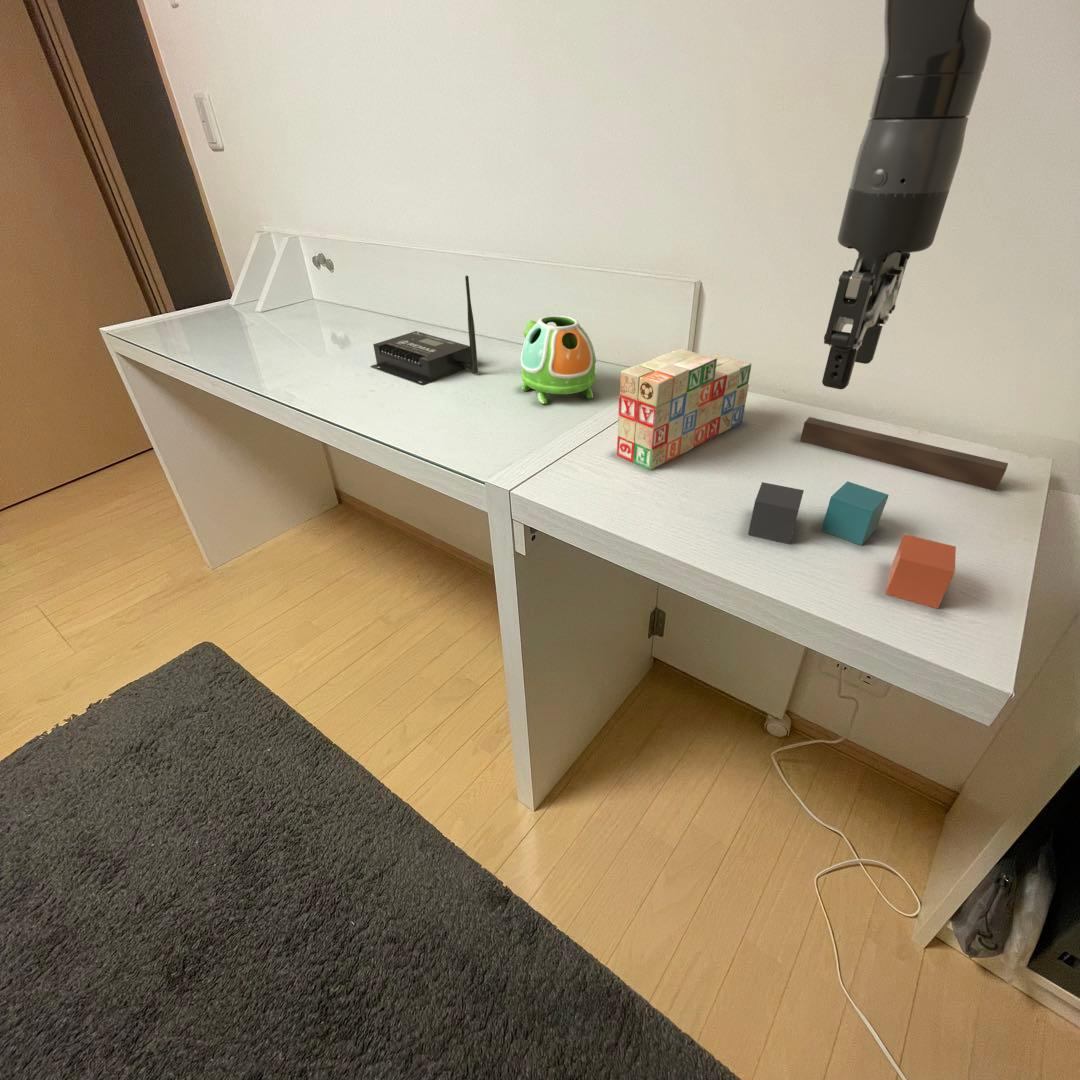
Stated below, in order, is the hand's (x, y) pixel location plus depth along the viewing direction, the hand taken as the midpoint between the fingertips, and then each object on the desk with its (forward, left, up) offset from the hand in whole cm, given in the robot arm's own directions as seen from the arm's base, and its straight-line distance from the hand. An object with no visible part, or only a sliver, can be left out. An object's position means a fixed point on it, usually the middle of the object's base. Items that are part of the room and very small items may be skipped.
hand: (847, 373), depth 60 cm
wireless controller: (+75, -12, -18) cm, 78 cm away
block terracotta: (-12, +6, -18) cm, 22 cm away
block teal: (-4, -1, -18) cm, 18 cm away
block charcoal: (+3, +4, -18) cm, 18 cm away
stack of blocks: (+22, -11, -18) cm, 30 cm away
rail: (-4, -21, -18) cm, 28 cm away
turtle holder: (+49, -16, -18) cm, 54 cm away
